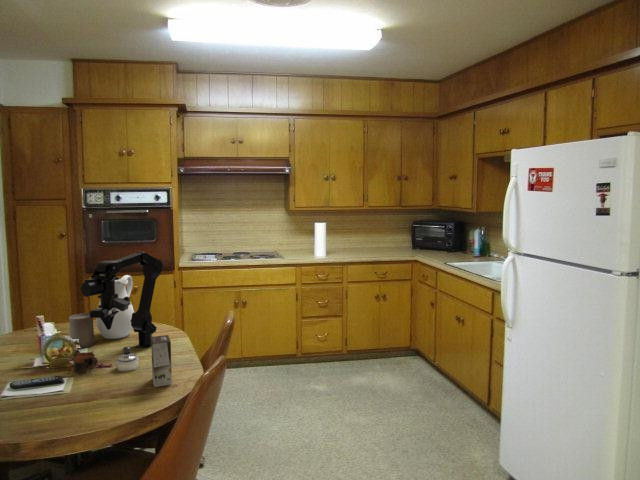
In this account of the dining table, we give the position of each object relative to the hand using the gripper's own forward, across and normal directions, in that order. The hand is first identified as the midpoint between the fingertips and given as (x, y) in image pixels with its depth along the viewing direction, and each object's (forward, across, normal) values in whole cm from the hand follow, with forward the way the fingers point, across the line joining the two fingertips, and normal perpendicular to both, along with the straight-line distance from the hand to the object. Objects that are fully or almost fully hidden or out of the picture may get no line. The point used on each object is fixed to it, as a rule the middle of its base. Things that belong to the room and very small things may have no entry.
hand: (109, 329), depth 203 cm
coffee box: (+13, -21, -31) cm, 40 cm away
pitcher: (+13, +34, +13) cm, 39 cm away
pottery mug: (+13, -14, +3) cm, 19 cm away
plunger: (+9, -9, -12) cm, 17 cm away
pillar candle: (+13, +15, +21) cm, 29 cm away
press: (+13, -8, -12) cm, 19 cm away
